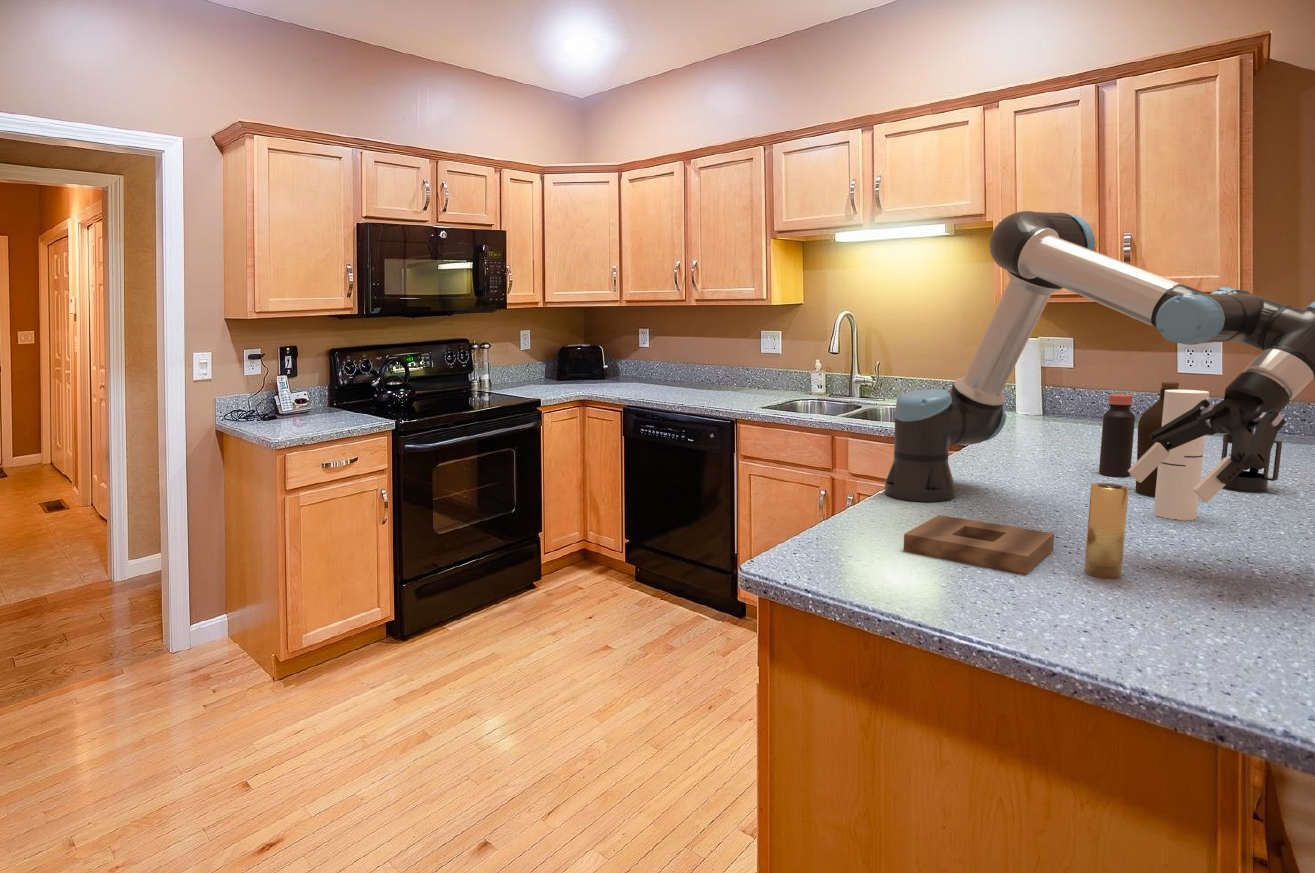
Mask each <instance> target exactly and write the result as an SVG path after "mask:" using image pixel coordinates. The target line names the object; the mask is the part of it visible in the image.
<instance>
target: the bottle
mask: <svg viewBox="0 0 1315 873" xmlns="http://www.w3.org/2000/svg"><path fill="white" fill-rule="evenodd" d="M1132 405H1133V395H1132V394H1119V393H1117V394H1115V393H1114V394H1109V397H1108V406H1109V410H1107V411H1106V412H1105V413H1104V414H1103V416H1102V427H1101V429H1102V430H1101V440H1100V454H1099V455H1100V456H1099V466H1098V468H1099V469H1098V473H1099V474H1100V475H1103V476H1106V477H1115V478H1125V477H1130V475H1131V474H1130V473H1129V472H1128V470H1129V469H1130V468H1131V467H1132V458H1133V448H1134V446H1133V445H1134V435H1135V434H1134V433H1135V424H1136V423H1135V422H1136V416H1135V414H1134V413H1133V412H1132V411H1131V407H1132Z"/></svg>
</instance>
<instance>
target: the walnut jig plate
mask: <svg viewBox="0 0 1315 873" xmlns="http://www.w3.org/2000/svg"><path fill="white" fill-rule="evenodd" d="M1054 542H1055V533H1054V532H1048V531H1042V530H1035V529H1029V528H1022V527H1016V526H1009V525H1004V524H999V523H991V522H985V521H979V520H973V519H966V518H960V517H954V516H948V515H941V514H937V515H936V516H934V517H932V518H931V519H929V520H927V521H925V522H923V523H921V524H920V525H918V526H916V527H914V528H912V529H911V530H909V531H907V532H905V533H904V534H903V551H905V552H909V553H914V554H919V555H925V556H930V557H934V558H940V559H945V560H950V561H953V562H960V563H966V564H971V565H976V566H981V567H987V568H990V569H991V568H992V569H995V570H1001V571H1006V572H1011V573H1016V574H1021V575H1025V576H1026V575H1028V574H1030V572H1031V571H1033V570H1034V568H1035V567H1037V566H1038V565H1039V564H1040V563H1041V562H1042V561H1043V560H1044V559H1046V558H1047V557H1048V555H1050V554H1051V552H1053V551H1054Z"/></svg>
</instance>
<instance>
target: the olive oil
mask: <svg viewBox="0 0 1315 873" xmlns="http://www.w3.org/2000/svg"><path fill="white" fill-rule="evenodd" d="M1179 386H1180V383H1179V382H1176V381H1175V382H1174V381H1163V382H1161V388H1160V389H1159V390H1160V391H1159V392H1160V393H1159V394H1160V395H1159V399H1158V400H1157V401H1156V402H1155V403H1153V405H1151V406H1150V407H1149V408H1147V409H1146V410H1145V411H1144V412H1143V413H1142V414H1141V415H1140V418H1139V420H1138V423H1137V443H1136V444H1137V446H1136V447H1137V448H1136V462H1137V461H1138V460H1139V459H1140V458H1141V456H1142V455H1143V454H1144V453H1145V452H1146V451H1147V450H1148V449H1149V448H1150V447H1151V446H1152V445H1153V443H1154V442H1153V441H1152V440H1151V439H1150V437H1149V435H1150V434H1151V433H1152V432H1154V431H1155V430H1157V429H1159V428H1161V427H1162V416H1163V406H1164V395H1165V390H1180V389H1179ZM1157 471H1158V466H1157V467H1156V468H1155V469H1154V470H1153V471H1152V472H1151V473H1150V474H1149V475H1148V476H1147V477H1146V478H1145V479H1144V480H1143V481H1142V482H1141V483H1140V482H1137V481H1136V480H1135V492H1136V493H1137V494H1139V495H1144V496H1147V497H1152V498H1155V493H1156V482H1157Z"/></svg>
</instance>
